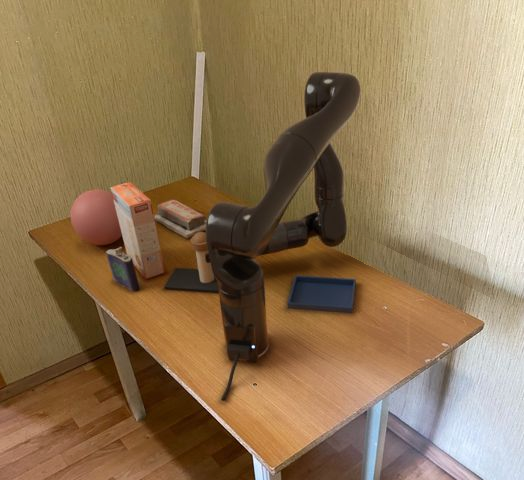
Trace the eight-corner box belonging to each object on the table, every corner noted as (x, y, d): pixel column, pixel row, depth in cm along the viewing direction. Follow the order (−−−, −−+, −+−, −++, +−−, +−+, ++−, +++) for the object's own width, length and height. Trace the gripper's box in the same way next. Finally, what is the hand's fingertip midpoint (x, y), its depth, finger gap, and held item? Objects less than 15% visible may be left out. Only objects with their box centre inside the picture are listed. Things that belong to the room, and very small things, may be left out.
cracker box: (166, 273, 141) (151, 199, 127) (145, 280, 138) (127, 206, 125) (147, 251, 150) (131, 180, 136) (127, 257, 148) (108, 186, 134)
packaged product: (150, 205, 161) (177, 195, 166) (153, 220, 164) (179, 209, 169) (184, 224, 150) (212, 212, 155) (187, 240, 153) (214, 227, 158)
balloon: (155, 234, 157) (145, 184, 147) (96, 261, 147) (81, 210, 137) (127, 218, 166) (115, 170, 156) (69, 243, 156) (53, 193, 146)
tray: (352, 314, 123) (352, 307, 122) (287, 309, 126) (287, 303, 124) (355, 285, 132) (356, 279, 130) (295, 281, 134) (295, 275, 133)
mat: (241, 294, 131) (240, 292, 131) (164, 289, 135) (164, 286, 134) (248, 274, 138) (248, 272, 137) (176, 270, 141) (175, 267, 141)
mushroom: (221, 278, 136) (215, 232, 127) (205, 287, 133) (198, 240, 124) (208, 271, 139) (202, 225, 130) (192, 279, 136) (185, 233, 127)
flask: (112, 281, 139) (101, 245, 132) (120, 276, 141) (111, 240, 134) (134, 293, 134) (125, 256, 127) (143, 287, 136) (134, 251, 129)
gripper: (259, 212, 135) (196, 223, 133) (273, 238, 125) (205, 250, 122) (260, 238, 140) (200, 249, 138) (274, 266, 130) (209, 278, 127)
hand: (202, 249), depth 130 cm, fingers open, 8 cm apart
